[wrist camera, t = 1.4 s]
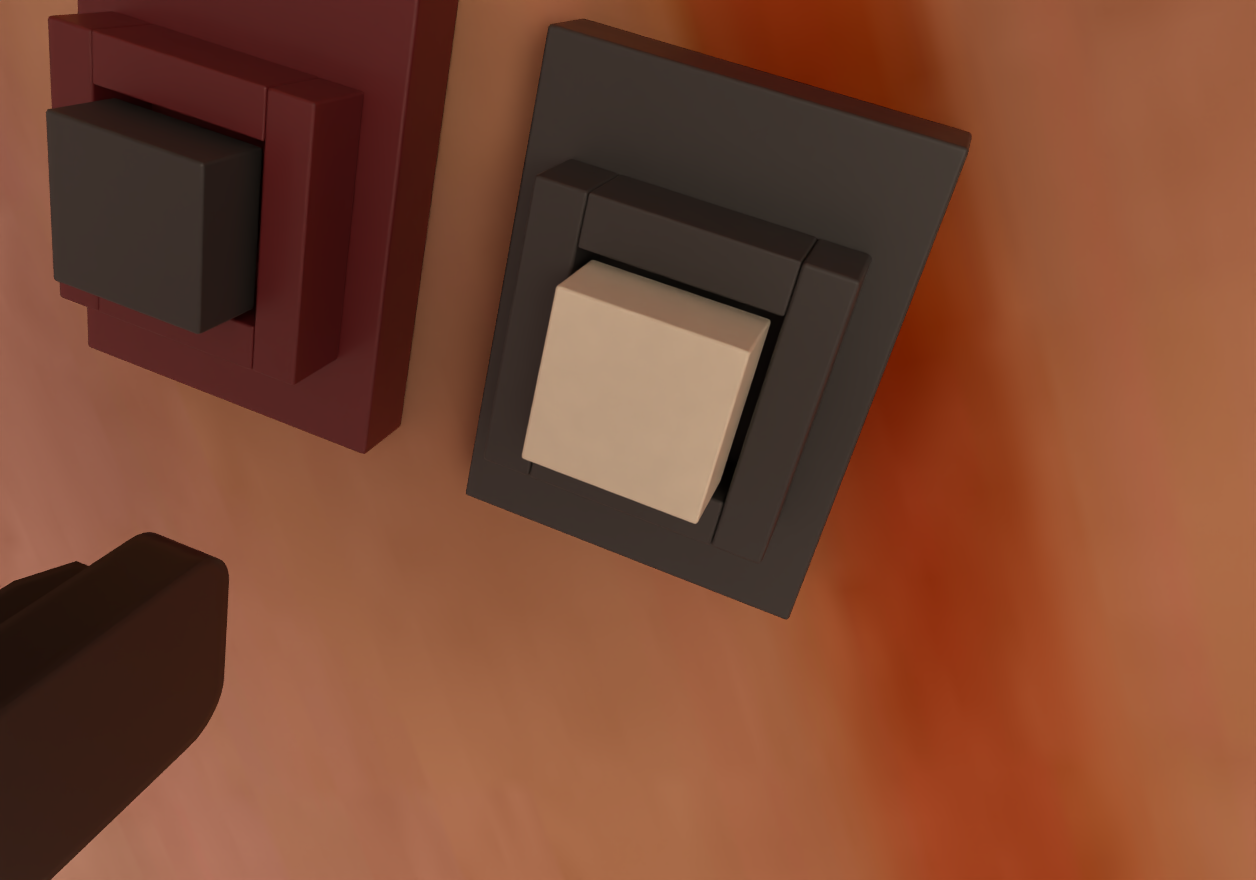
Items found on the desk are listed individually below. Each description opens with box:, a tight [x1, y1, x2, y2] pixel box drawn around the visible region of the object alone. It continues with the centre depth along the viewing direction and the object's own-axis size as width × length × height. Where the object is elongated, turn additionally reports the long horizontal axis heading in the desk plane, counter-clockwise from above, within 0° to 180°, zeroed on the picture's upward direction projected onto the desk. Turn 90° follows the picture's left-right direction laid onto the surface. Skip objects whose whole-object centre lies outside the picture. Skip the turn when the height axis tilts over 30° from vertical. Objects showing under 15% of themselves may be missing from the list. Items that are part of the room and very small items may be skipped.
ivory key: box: [522, 260, 770, 524], centre depth 22 cm, size 4×4×2 cm
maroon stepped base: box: [48, 0, 458, 454], centre depth 26 cm, size 12×9×4 cm
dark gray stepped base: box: [466, 19, 971, 619], centre depth 24 cm, size 12×9×4 cm
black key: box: [46, 98, 262, 334], centre depth 24 cm, size 4×4×2 cm
